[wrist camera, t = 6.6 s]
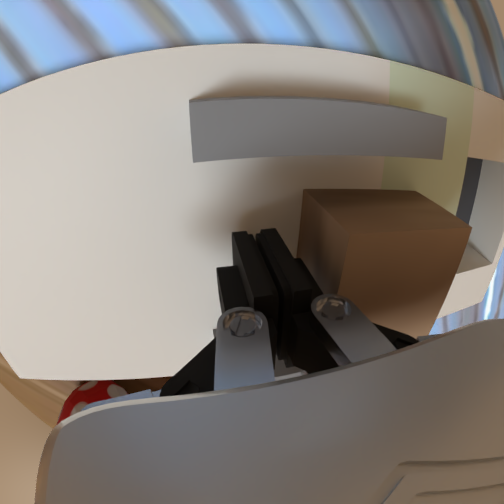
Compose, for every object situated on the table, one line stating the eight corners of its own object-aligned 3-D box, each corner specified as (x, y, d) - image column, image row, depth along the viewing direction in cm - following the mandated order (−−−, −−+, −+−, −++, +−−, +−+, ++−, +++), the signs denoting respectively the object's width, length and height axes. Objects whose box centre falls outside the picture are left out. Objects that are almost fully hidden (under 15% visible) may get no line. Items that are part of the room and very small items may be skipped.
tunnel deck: (-40, 125, 9) (-127, 164, 3) (492, 103, 15) (569, 129, 9) (34, 337, 18) (7, 419, 11) (455, 276, 23) (505, 326, 17)
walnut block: (303, 188, 12) (349, 234, 8) (415, 190, 13) (472, 227, 10) (289, 305, 15) (317, 367, 11) (388, 290, 16) (426, 337, 13)
